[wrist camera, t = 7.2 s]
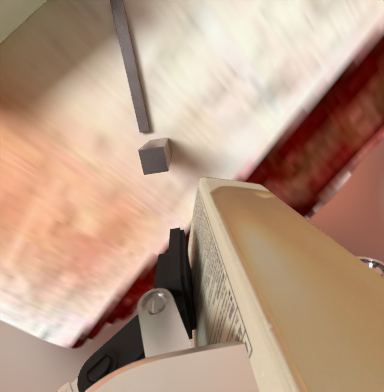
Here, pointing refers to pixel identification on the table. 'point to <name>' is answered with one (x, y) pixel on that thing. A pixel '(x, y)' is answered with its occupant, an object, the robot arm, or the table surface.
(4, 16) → the gate
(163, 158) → the latch post
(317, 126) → the table surface
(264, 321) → the skincare box
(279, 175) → the table surface
